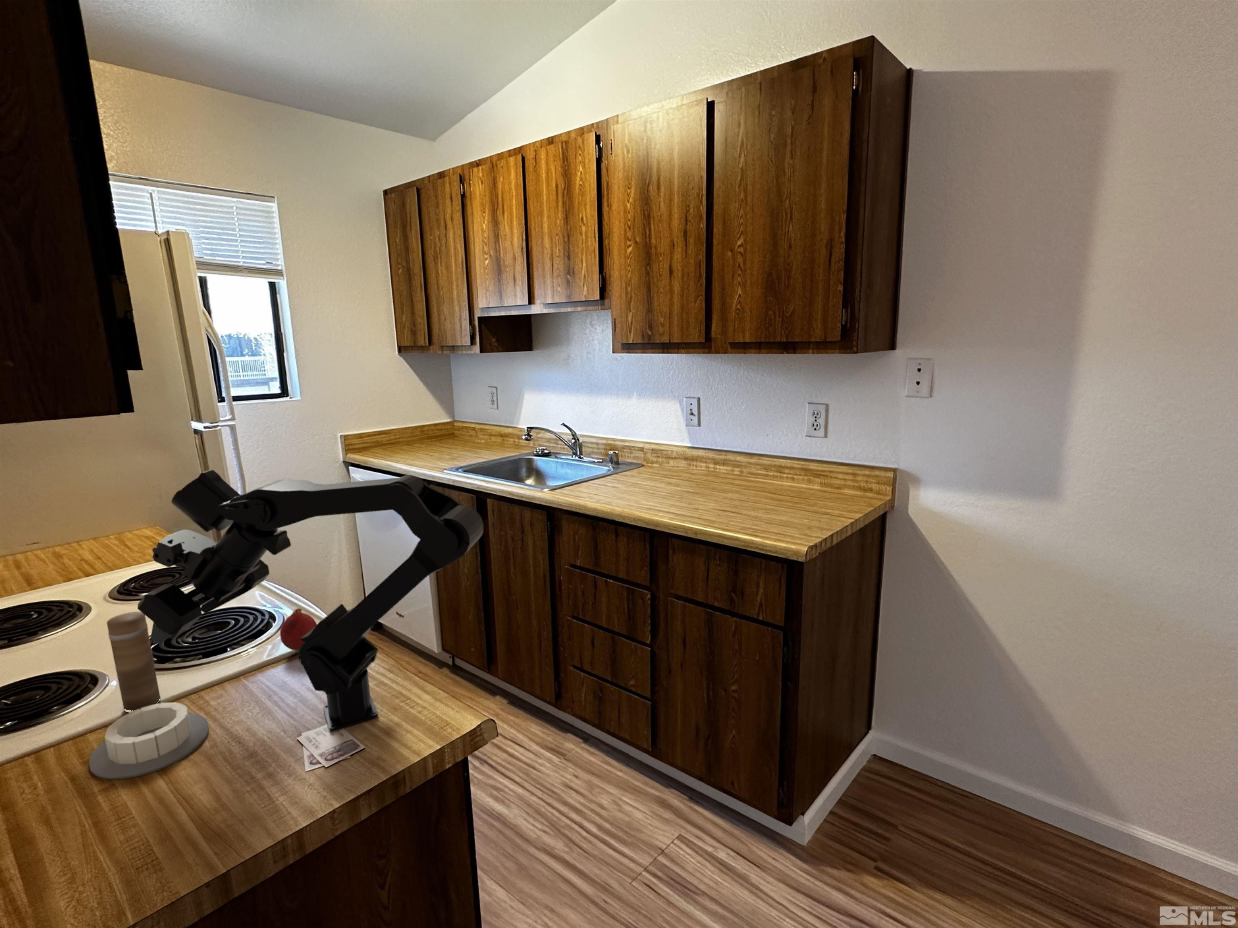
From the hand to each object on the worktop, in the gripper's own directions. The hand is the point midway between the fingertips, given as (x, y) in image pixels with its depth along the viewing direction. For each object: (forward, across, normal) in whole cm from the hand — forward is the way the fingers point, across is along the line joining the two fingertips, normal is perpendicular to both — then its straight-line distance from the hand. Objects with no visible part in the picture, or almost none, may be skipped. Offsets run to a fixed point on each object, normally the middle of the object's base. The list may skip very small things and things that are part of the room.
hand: (179, 625), depth 91 cm
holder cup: (+9, +9, +10) cm, 16 cm away
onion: (+5, -17, +14) cm, 22 cm away
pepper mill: (+15, 0, +3) cm, 15 cm away
